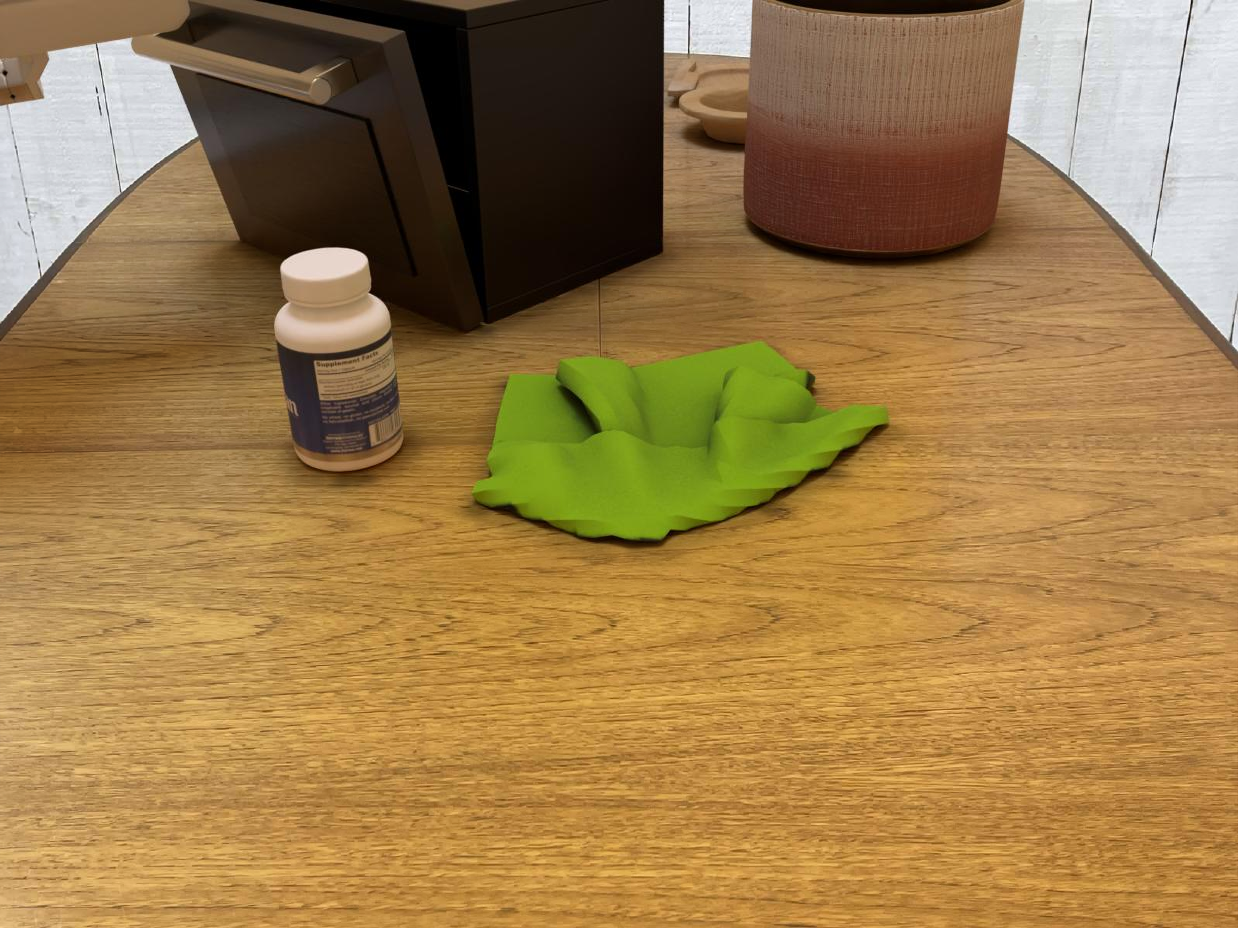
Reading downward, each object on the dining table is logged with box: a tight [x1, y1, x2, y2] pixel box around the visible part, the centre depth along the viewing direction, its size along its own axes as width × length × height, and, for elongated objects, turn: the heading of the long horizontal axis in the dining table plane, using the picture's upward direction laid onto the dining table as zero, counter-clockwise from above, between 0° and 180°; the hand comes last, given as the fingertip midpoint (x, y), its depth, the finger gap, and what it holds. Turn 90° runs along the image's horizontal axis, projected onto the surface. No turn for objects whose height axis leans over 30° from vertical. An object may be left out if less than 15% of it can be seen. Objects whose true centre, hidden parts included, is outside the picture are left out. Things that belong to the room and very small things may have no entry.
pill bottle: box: [273, 248, 404, 472], centre depth 60 cm, size 5×5×10 cm
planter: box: [742, 0, 1026, 259], centre depth 86 cm, size 18×18×16 cm
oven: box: [254, 0, 665, 324], centre depth 83 cm, size 16×24×18 cm, turn 47°
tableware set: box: [666, 58, 750, 145], centre depth 116 cm, size 35×29×4 cm
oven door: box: [130, 0, 484, 334], centre depth 75 cm, size 5×24×18 cm, turn 47°
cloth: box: [470, 340, 890, 542], centre depth 63 cm, size 20×22×2 cm
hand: (15, 93), depth 68 cm, fingers closed
